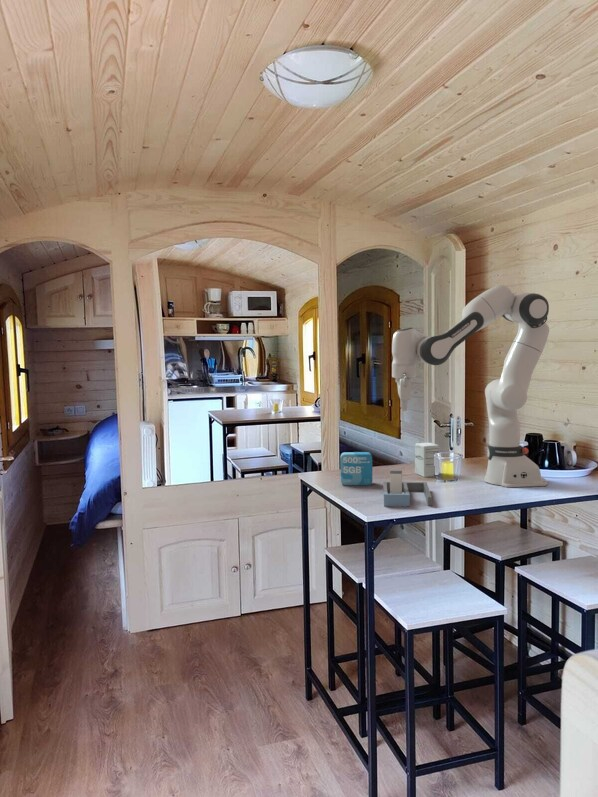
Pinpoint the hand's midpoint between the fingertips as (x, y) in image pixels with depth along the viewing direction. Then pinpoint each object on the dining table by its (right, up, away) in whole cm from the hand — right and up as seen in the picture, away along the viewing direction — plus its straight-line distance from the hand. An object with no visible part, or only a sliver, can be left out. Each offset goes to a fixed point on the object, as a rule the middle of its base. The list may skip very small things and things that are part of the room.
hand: (404, 410), depth 222 cm
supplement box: (+13, -27, +24) cm, 39 cm away
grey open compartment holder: (-1, -30, -11) cm, 32 cm away
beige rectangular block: (-5, -30, -10) cm, 32 cm away
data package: (-17, -29, +11) cm, 35 cm away
